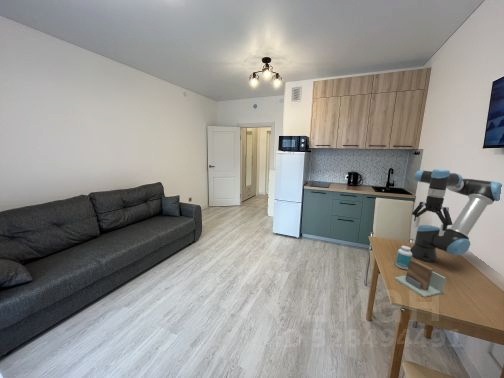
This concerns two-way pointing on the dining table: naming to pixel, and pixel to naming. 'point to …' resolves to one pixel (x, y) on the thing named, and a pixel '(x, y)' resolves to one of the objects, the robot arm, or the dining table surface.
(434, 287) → the pale green l-shaped piece
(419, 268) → the door panel
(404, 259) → the pill bottle
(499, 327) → the dining table surface
